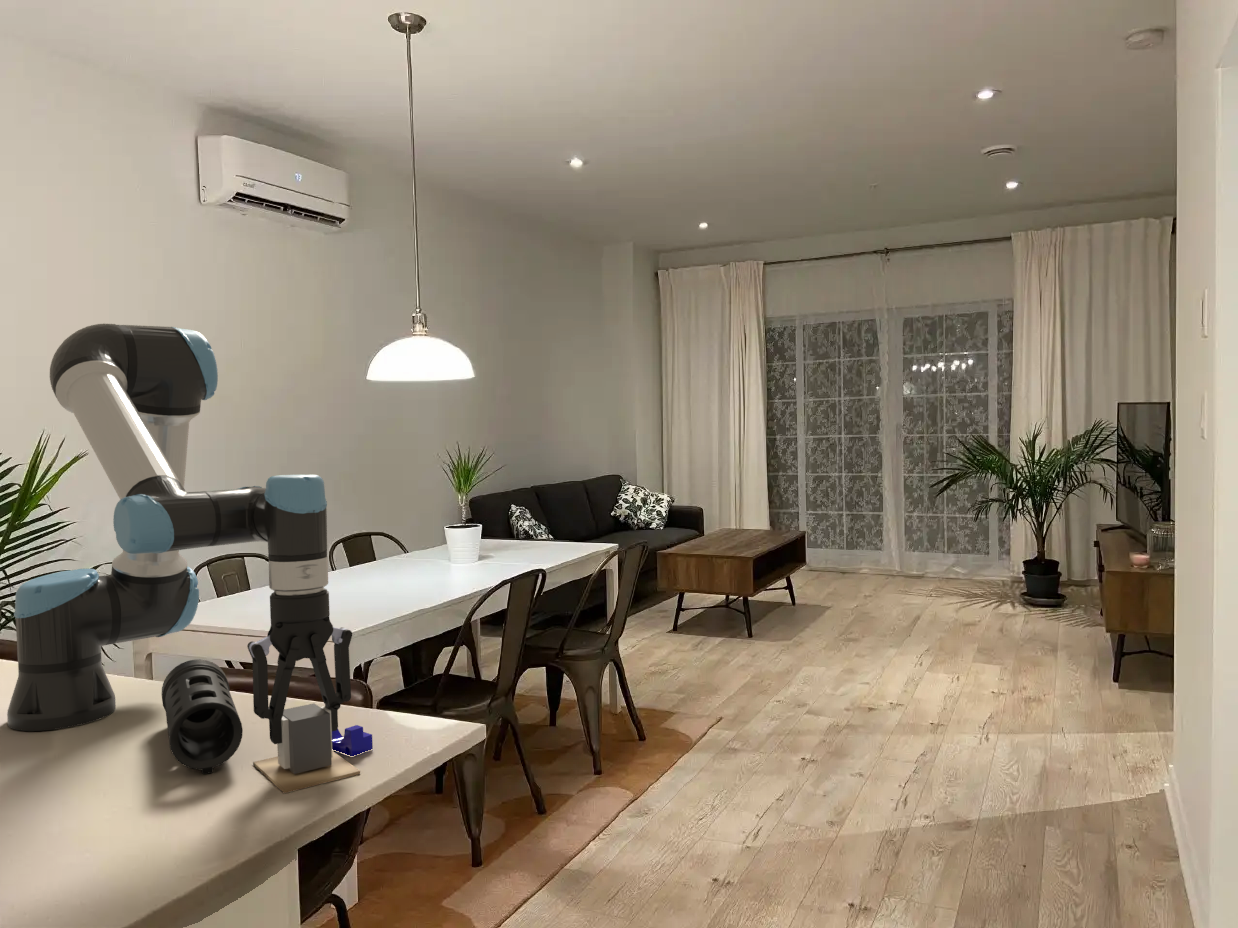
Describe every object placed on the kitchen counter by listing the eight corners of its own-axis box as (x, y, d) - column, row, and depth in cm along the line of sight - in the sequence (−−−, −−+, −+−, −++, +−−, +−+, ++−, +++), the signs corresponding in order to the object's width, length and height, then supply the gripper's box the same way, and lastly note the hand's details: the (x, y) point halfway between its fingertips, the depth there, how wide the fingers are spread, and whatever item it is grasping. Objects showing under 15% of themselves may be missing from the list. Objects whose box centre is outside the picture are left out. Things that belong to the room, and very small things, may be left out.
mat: (253, 764, 127) (253, 761, 127) (325, 748, 133) (324, 745, 133) (284, 793, 117) (283, 790, 117) (360, 773, 123) (360, 770, 123)
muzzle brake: (168, 784, 121) (165, 706, 121) (162, 725, 146) (159, 660, 146) (246, 770, 126) (243, 695, 125) (227, 715, 150) (225, 652, 150)
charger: (275, 758, 127) (273, 707, 127) (311, 749, 130) (310, 700, 130) (294, 773, 121) (292, 721, 121) (331, 764, 124) (329, 713, 124)
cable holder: (372, 751, 132) (371, 724, 132) (351, 758, 129) (351, 730, 129) (339, 740, 137) (338, 713, 137) (318, 747, 134) (317, 720, 134)
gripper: (237, 602, 116) (244, 785, 117) (374, 584, 127) (380, 752, 128) (221, 594, 122) (227, 768, 123) (353, 578, 133) (358, 738, 134)
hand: (305, 760), depth 125 cm, fingers closed on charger, 5 cm apart
